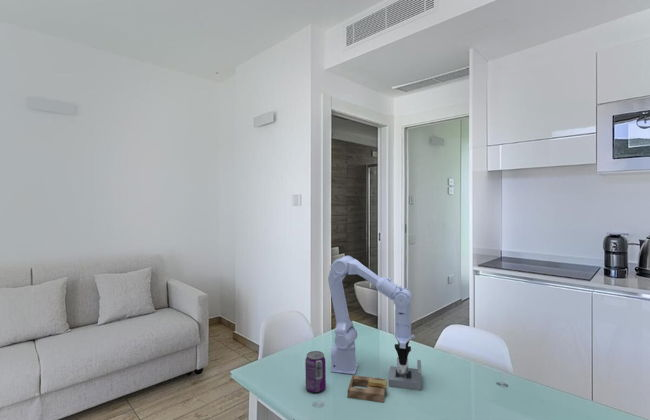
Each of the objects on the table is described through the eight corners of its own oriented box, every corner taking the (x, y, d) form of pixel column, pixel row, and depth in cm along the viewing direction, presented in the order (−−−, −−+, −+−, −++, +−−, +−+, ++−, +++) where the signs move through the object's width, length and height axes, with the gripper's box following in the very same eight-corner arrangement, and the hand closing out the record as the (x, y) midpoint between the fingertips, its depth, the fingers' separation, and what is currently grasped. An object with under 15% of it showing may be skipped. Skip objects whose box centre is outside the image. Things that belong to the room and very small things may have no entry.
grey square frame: (388, 386, 118) (388, 369, 118) (390, 372, 128) (390, 356, 127) (421, 390, 115) (421, 373, 115) (420, 375, 125) (420, 360, 125)
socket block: (347, 397, 111) (347, 390, 111) (352, 381, 121) (352, 375, 121) (383, 402, 108) (383, 394, 108) (385, 386, 118) (385, 379, 118)
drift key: (368, 386, 113) (367, 382, 113) (369, 381, 116) (369, 378, 116) (386, 388, 112) (386, 384, 112) (387, 383, 115) (387, 380, 115)
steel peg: (397, 383, 120) (397, 361, 120) (396, 377, 124) (396, 356, 124) (409, 383, 119) (409, 361, 119) (407, 378, 123) (407, 356, 123)
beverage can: (328, 384, 120) (328, 351, 119) (321, 395, 113) (321, 360, 113) (310, 381, 122) (309, 349, 122) (302, 391, 115) (302, 357, 115)
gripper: (414, 331, 113) (414, 370, 113) (414, 317, 127) (414, 352, 127) (393, 329, 115) (393, 368, 115) (395, 315, 129) (395, 350, 129)
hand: (403, 359), depth 121 cm, fingers open, 7 cm apart
